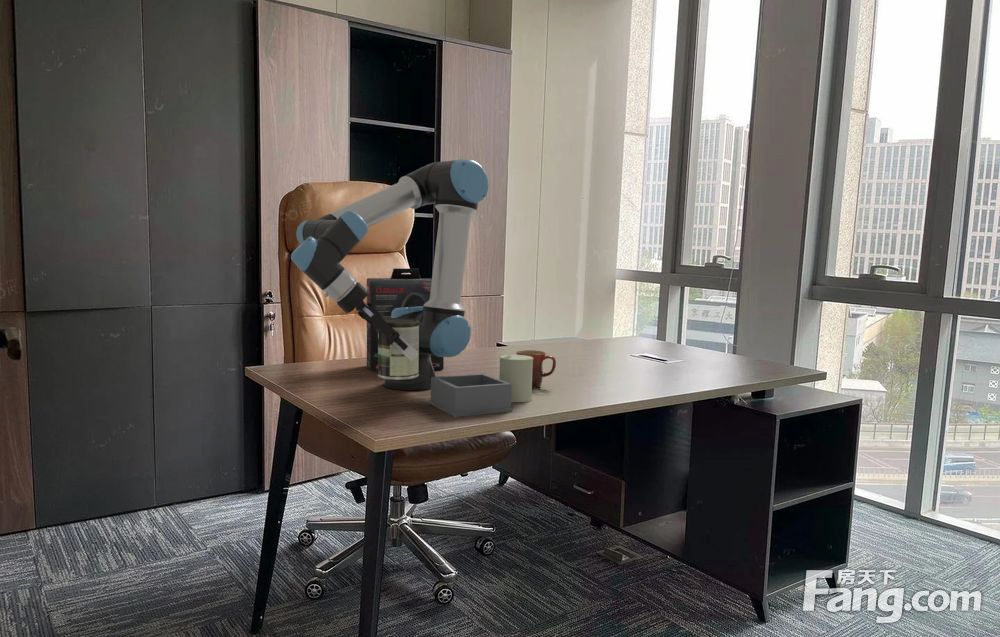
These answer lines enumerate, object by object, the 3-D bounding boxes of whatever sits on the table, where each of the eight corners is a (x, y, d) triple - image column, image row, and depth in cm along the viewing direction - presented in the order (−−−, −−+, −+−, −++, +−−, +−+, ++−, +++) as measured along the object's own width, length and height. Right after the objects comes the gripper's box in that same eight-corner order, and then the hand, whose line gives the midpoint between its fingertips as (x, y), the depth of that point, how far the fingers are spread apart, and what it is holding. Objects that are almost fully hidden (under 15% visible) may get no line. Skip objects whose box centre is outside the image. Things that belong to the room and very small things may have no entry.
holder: (429, 403, 190) (429, 376, 190) (483, 398, 198) (484, 373, 197) (454, 416, 176) (455, 388, 176) (512, 411, 184) (513, 384, 183)
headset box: (368, 372, 234) (369, 268, 230) (364, 365, 245) (365, 266, 242) (444, 370, 240) (446, 269, 237) (436, 364, 252) (438, 268, 249)
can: (492, 397, 201) (493, 353, 199) (520, 394, 205) (522, 352, 204) (509, 403, 193) (510, 358, 192) (538, 401, 197) (540, 357, 196)
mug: (511, 387, 214) (512, 353, 213) (519, 382, 223) (520, 349, 222) (551, 391, 211) (553, 356, 210) (557, 385, 220) (559, 352, 219)
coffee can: (370, 378, 180) (370, 321, 178) (388, 371, 190) (388, 317, 188) (409, 381, 177) (409, 323, 175) (425, 373, 187) (425, 319, 185)
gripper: (331, 298, 187) (392, 357, 194) (340, 307, 166) (408, 372, 173) (351, 278, 188) (412, 336, 195) (363, 283, 167) (430, 349, 174)
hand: (410, 353), depth 184 cm, fingers closed on coffee can, 10 cm apart
